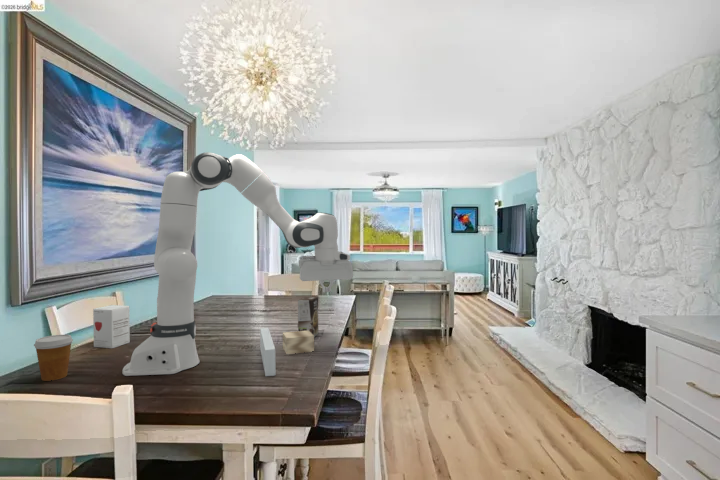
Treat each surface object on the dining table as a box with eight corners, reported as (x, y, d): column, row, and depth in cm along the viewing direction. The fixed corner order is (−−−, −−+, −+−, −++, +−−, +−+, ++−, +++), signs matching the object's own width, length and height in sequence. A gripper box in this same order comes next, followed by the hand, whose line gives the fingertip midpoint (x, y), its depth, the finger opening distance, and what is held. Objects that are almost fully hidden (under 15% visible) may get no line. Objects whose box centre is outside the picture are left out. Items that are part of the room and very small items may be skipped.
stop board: (265, 376, 123) (265, 350, 123) (260, 349, 152) (260, 328, 152) (275, 375, 124) (275, 349, 124) (268, 348, 153) (268, 327, 153)
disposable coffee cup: (28, 384, 118) (27, 343, 118) (43, 373, 127) (42, 335, 127) (66, 381, 120) (65, 340, 120) (78, 370, 130) (77, 333, 129)
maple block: (286, 355, 146) (286, 338, 145) (282, 348, 154) (282, 332, 154) (314, 352, 149) (314, 335, 149) (308, 345, 157) (308, 330, 157)
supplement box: (92, 347, 157) (92, 308, 156) (112, 341, 165) (111, 304, 165) (112, 348, 154) (111, 309, 154) (130, 342, 163) (130, 305, 163)
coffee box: (312, 339, 166) (312, 299, 166) (297, 338, 167) (297, 299, 167) (319, 333, 175) (318, 296, 175) (304, 333, 176) (304, 296, 176)
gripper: (300, 256, 148) (300, 294, 148) (354, 255, 154) (354, 291, 154) (297, 255, 154) (298, 292, 154) (349, 254, 160) (350, 289, 160)
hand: (326, 292), depth 154 cm, fingers closed
